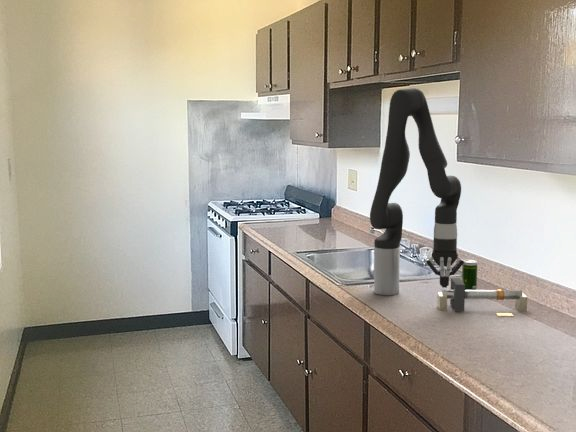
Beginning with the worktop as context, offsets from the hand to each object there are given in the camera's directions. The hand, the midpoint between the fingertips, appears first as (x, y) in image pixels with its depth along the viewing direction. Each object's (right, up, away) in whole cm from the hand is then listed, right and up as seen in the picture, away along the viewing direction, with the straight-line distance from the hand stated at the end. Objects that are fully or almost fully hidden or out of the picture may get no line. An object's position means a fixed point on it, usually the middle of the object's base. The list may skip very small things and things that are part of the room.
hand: (444, 286), depth 217 cm
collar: (+5, -7, +1) cm, 9 cm away
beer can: (+14, -5, +20) cm, 25 cm away
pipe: (+12, -8, -2) cm, 15 cm away
